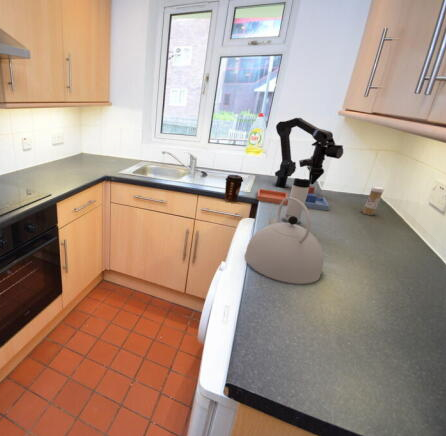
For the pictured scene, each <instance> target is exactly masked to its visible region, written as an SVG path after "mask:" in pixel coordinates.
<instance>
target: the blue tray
mask: <svg viewBox="0 0 446 436" xmlns="http://www.w3.org/2000/svg"><path fill="white" fill-rule="evenodd" d="M304 205H305V206H306V207H307V209H315V210H322V211H328V210H329V207H330V205H329V203H328V202H327V200H326V197H323V196H317V199H316V202H315V203H309V202H305V204H304Z"/></svg>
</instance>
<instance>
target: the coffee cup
mask: <svg viewBox="0 0 446 436" xmlns="http://www.w3.org/2000/svg"><path fill="white" fill-rule="evenodd" d="M243 182H244V179H243V177H242V175H238V174H228V175H227V177H225V190H224V201H226V202H231V203H234V202H237V201H238V198H239V197H238V196H239V195H240V192H241V188H242V183H243Z"/></svg>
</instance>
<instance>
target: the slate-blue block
mask: <svg viewBox="0 0 446 436" xmlns="http://www.w3.org/2000/svg"><path fill="white" fill-rule="evenodd" d="M317 197H318V196H317V194H316V193H313V194H311V193H308V194H307V198H306V201H305V202H309V203H315V202H316V199H317Z"/></svg>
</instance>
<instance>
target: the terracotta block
mask: <svg viewBox="0 0 446 436" xmlns="http://www.w3.org/2000/svg"><path fill="white" fill-rule="evenodd" d="M315 189H316V188H315V186H313V185H310V187H309V191H308V193H311V194H315Z"/></svg>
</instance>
